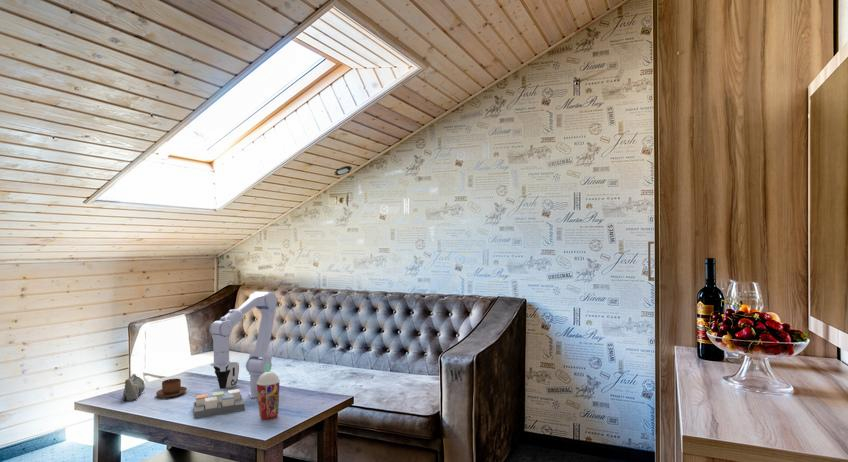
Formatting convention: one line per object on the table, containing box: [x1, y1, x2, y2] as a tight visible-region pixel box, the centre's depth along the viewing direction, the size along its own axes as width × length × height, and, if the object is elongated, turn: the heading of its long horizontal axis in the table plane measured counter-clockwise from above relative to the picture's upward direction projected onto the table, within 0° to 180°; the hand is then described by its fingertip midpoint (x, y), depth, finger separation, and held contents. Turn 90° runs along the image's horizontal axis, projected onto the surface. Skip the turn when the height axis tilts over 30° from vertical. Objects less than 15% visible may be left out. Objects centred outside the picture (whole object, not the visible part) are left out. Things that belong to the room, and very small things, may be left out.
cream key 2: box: [227, 388, 241, 400], centre depth 207 cm, size 4×4×4 cm
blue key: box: [221, 394, 234, 407], centre depth 200 cm, size 4×4×4 cm
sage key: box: [211, 390, 225, 403], centre depth 204 cm, size 4×4×4 cm
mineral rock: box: [122, 373, 146, 401], centre depth 221 cm, size 13×11×10 cm
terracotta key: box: [195, 393, 209, 406], centre depth 202 cm, size 4×4×4 cm
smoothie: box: [257, 364, 281, 421], centre depth 191 cm, size 8×8×20 cm
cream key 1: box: [205, 396, 217, 410], centre depth 198 cm, size 4×4×4 cm
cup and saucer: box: [155, 378, 188, 398], centre depth 222 cm, size 12×12×6 cm
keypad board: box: [193, 394, 246, 419], centre depth 202 cm, size 18×12×2 cm
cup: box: [225, 361, 240, 389], centre depth 232 cm, size 8×8×10 cm
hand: (222, 385), depth 201 cm, fingers open, 7 cm apart
